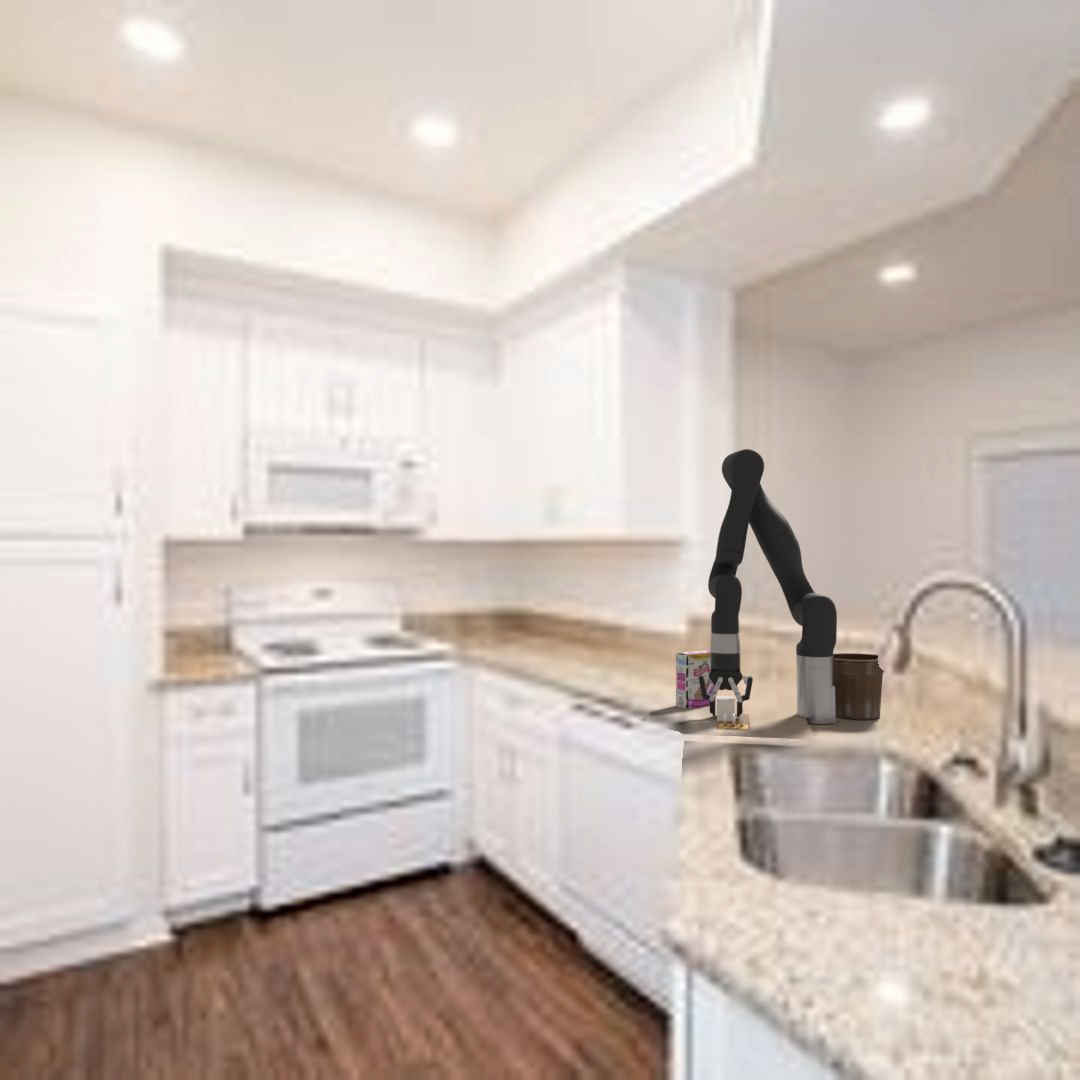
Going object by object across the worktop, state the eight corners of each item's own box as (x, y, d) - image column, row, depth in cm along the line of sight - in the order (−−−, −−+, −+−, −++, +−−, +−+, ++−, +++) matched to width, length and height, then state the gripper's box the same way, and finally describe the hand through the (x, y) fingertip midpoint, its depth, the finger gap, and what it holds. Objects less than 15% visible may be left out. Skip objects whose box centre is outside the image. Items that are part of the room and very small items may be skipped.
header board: (748, 720, 212) (748, 714, 212) (750, 736, 193) (750, 730, 193) (717, 718, 214) (717, 713, 214) (716, 735, 195) (716, 729, 195)
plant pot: (810, 712, 221) (809, 654, 221) (856, 708, 227) (855, 651, 227) (853, 724, 206) (852, 661, 206) (901, 719, 212) (900, 658, 212)
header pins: (743, 726, 197) (743, 714, 197) (743, 727, 197) (743, 714, 197) (723, 725, 199) (723, 713, 199) (723, 726, 198) (723, 714, 198)
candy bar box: (687, 714, 221) (687, 654, 221) (675, 711, 225) (674, 652, 226) (717, 709, 227) (716, 651, 227) (704, 706, 231) (704, 649, 231)
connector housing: (717, 714, 212) (717, 695, 212) (734, 715, 211) (734, 696, 211) (717, 720, 204) (716, 701, 205) (735, 721, 203) (734, 701, 204)
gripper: (753, 649, 210) (754, 714, 210) (697, 648, 213) (698, 712, 213) (754, 652, 203) (755, 720, 202) (696, 651, 206) (697, 717, 206)
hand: (725, 715), depth 208 cm, fingers open, 5 cm apart
